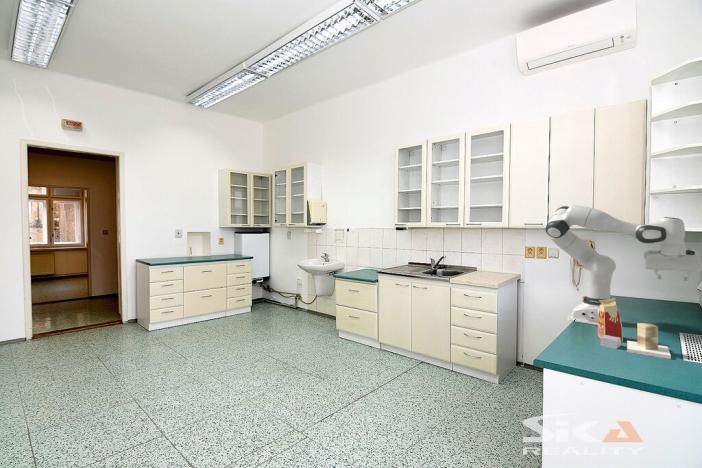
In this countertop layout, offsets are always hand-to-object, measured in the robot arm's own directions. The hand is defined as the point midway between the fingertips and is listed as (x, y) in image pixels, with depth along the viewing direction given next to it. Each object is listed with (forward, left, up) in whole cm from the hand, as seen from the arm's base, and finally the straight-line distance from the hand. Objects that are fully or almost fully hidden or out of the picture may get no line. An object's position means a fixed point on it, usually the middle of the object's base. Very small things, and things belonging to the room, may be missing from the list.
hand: (672, 279), depth 166 cm
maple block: (-10, -26, -28) cm, 39 cm away
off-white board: (-10, -26, -29) cm, 40 cm away
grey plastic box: (-23, -27, -29) cm, 46 cm away
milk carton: (-24, -13, -29) cm, 40 cm away
